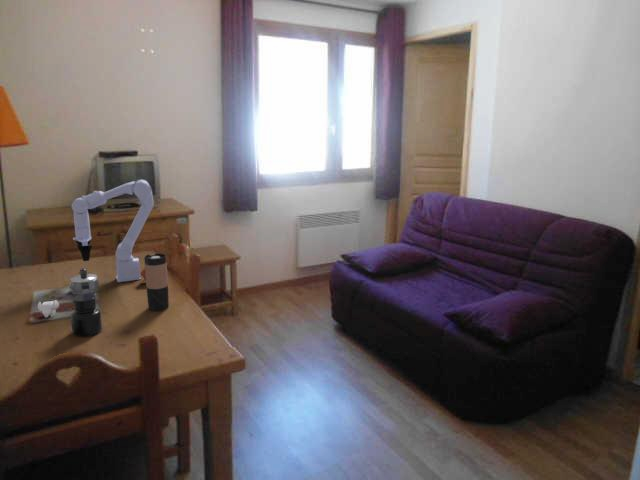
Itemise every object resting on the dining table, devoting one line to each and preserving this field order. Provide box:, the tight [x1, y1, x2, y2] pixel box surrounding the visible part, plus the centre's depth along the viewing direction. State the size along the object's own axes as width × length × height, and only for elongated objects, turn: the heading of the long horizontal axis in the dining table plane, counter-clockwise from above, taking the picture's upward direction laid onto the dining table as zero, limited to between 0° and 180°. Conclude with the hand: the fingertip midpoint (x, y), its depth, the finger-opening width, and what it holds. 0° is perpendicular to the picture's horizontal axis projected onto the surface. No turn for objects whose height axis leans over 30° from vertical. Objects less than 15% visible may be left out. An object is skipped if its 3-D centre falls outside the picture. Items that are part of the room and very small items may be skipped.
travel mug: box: [143, 253, 170, 312], centre depth 185 cm, size 8×8×20 cm
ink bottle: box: [70, 293, 103, 337], centre depth 165 cm, size 10×9×12 cm
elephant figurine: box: [37, 299, 60, 318], centre depth 178 cm, size 7×8×6 cm
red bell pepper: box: [139, 267, 146, 284], centre depth 213 cm, size 7×7×10 cm
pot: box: [69, 271, 100, 296], centre depth 204 cm, size 10×20×5 cm, turn 28°
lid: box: [70, 267, 98, 283], centre depth 201 cm, size 10×10×5 cm
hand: (85, 258), depth 212 cm, fingers open, 7 cm apart
